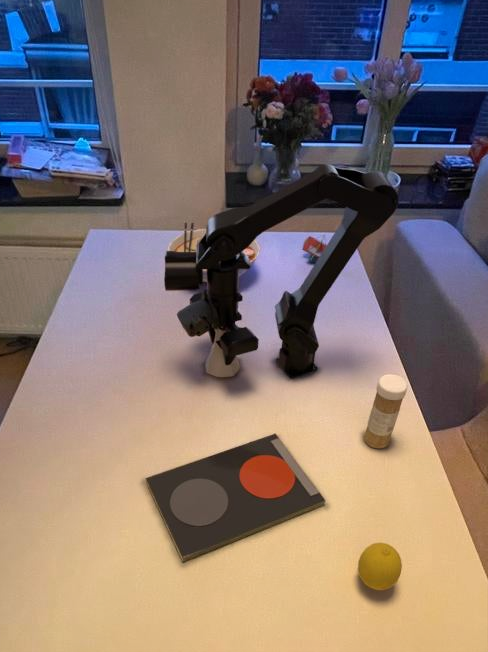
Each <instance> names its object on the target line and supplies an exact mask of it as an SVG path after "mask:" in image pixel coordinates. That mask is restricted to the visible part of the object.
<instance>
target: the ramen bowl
mask: <svg viewBox="0 0 488 652" xmlns="http://www.w3.org/2000/svg"><path fill="white" fill-rule="evenodd" d="M194 224H195V223H194V222H191V223H190V231H187V230H188V223H187V222H184V229H183V233H181V234H180V235H178V236H177V237H175V238H173V239H172V240H171V241H170V243H169V245H168V246H167V251H175V252H196V245H197V243H198V242H199V241H200V239H201V238H202V237H203V235H204V234H205V233H206V228H199V229H194V226H195V225H194ZM260 252H261V247H260V246H259V243H258V241H257V240H256V239H255V240H254V241H253V242H252V243H251V244H250V245H249V246H248V247H247V248H246V249H245V250H243V253H244V254H246V255H247V256H248V257H249V260H250V268H251V267H252V266H253V265H254V264H255V262H256V260H257V258H258V257H259V253H260ZM248 270H249V269H239V277H241V276H242V275H244V274H245V273H246V272H247V271H248ZM203 283H207V269H203Z"/></svg>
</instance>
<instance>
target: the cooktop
mask: <svg viewBox="0 0 488 652" xmlns="http://www.w3.org/2000/svg"><path fill="white" fill-rule="evenodd" d="M145 484H146V485H147V488H148V490H149V492H150V495H151V496H152V498H153V501H154V503H155V505H156V507H157V509H158V511H159V514H160V516H161V518H162V520H163V522H164V525H165V526H166V529H167V531H168V534H169V535H170V537H171V540H172V542H173V544H174V546H175V549H176V550H177V553H178V555H179V557H180V559H181V561H182V563H184V562H187V561H189V560H192V559H194V558H197V557H200V556H202V555H205V554H207V553H209V552H212V551H214V550H216V549H219V548H222V547H224V546H227V545H229V544H231V543H234V542H237V541H239V540H241V539H243V538H247V537H248V536H251V535H254V534H256V533H259V532H261V531H264V530H266V529H268V528H271V527H273V526H276V525H279V524H281V523H283V522H286V521H288V520H291V519H293V518H295V517H298V516H301V515H303V514H305V513H308V512H310V511H313V510H316V509H318V508H320V507H322V506H325V504H326V499H325V498H324V496H323V495H322V494H321V492H320V491H319V490H318V488H317V487H316V486H315V485H314V483H313V482H312V480H311V479H310V477H309V476H308V475H307V473H305V471H304V470H303V468H302V467H301V465H300V464H299V463H298V462H297V460H296V459H295V458H294V456H293V455H292V453H290V451H289V449H288V448H287V447H286V446H285V444H284V443H283V441H282V440H281V439H280V438H279V437H278V435H277V434H276V433H272V434H270V435H267V436H264V437H261V438H258V439H255V440H252V441H250V442H246V443H243V444H241V445H237V446H234V447H232V448H230V449H226V450H223V451H221V452H220V451H219V452H218V453H214V454H212V455H209V456H206V457H203V458H200V459H197V460H194V461H192V462H189V463H185V464H183V465H180V466H177V467H174V468H171V469H167V470H166V471H162V472H160V473H157V474H154V475H151V476H148V477H145Z"/></svg>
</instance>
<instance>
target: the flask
mask: <svg viewBox="0 0 488 652" xmlns="http://www.w3.org/2000/svg"><path fill="white" fill-rule="evenodd" d="M215 331H216V335H215V340H214V344H213V345H212V346H211V349H210V352H209V354H208V355H207V359H206V360H205V363H204V366H205V372H206V374H209V375H212V376H214V377H217V378H226V377H227V378H229V377H234V376H235V375H236V374H237V372H239V370H240V369H241V368H240V362H239V359H238V355H237V356H236V357H235V359H234V360H233V362H232V363H231V364H230V365H227V366H226V365H225V362H224V356H223V350H222V349H221V348H220V347H219V346H218V344H217V343H216V342H215V341H218V340H220V337H221V336H222V335H223V333H224V332H226V331H222V332H221V331H220V330H219V329H218V328H215Z"/></svg>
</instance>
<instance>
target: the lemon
mask: <svg viewBox="0 0 488 652" xmlns="http://www.w3.org/2000/svg"><path fill="white" fill-rule="evenodd" d="M402 568H403V564H402V558H401V555H400V553H399V552H398V551H397V549H396V548H395V547H394V546H392V545H391V544H388V543H385V542H375V543H372V544H370V545H368V546H367V547H366V548H365V549H363V551H362V553H360V556H359V559H358V563H357V571H358V575H359V577H360V579H361V581H362V582H363V583H364V584H365V585H366V586H367V587H368V588H370V589H372V590H376V591H384V590H388V589H390V588H392V587H393V586H395V584H396V583H397V582H398V581H399V579H400V577H401V575H402Z"/></svg>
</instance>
